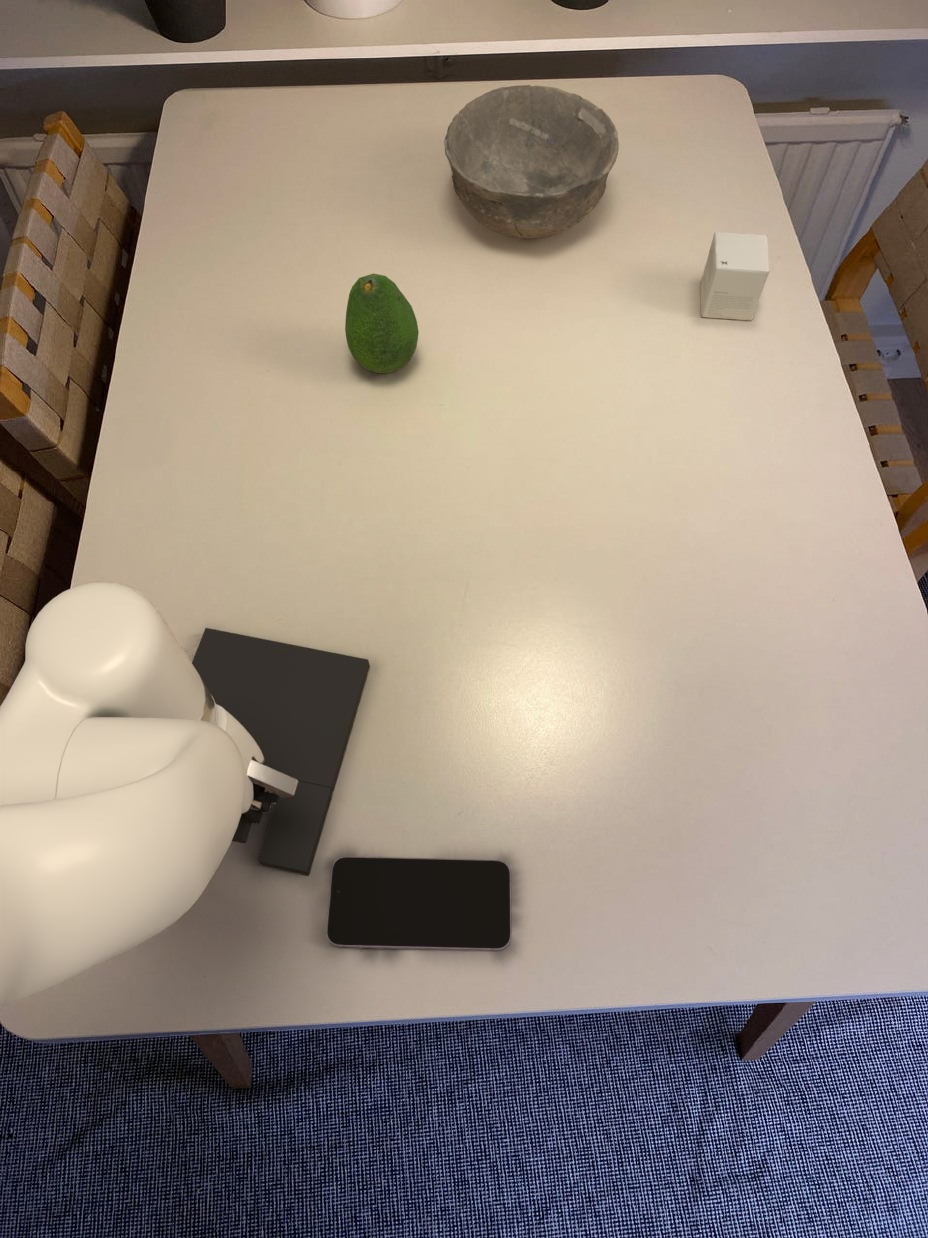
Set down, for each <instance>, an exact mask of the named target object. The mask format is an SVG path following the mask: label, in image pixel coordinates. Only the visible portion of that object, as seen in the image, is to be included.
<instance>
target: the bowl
mask: <svg viewBox="0 0 928 1238" xmlns="http://www.w3.org/2000/svg"><path fill="white" fill-rule="evenodd" d="M458 111H459V112H458V113H456V114H455V115H454V117H453V118H452V120H451V122H450V123H449V125H448V127H447V130H446V134H445V137H444V140H443V146H444V147H443V148H444V154H445V157H446V158H447V161H448V163H449V165H450V169H451V173H452V174H451V181H452V185H453V187H452V188H453V190H454V193H455V195H456V197H457V198H458V200H459V201H460V203H461V204H462V205H463V207H464V208H465V209H466V210H467V211H468V212H469V213H470V214H471V215H472V216H473V218H475V220H477V221H478V222H479V223H481V224H482V225H484V226H485V227H487V228H489V229H490V230H492V231H495V232H497V233H500V234H502V235H505V236H508V237H512V238H518V239H542V238H548V237H552V236H555V235H557V234H560V233H561V232H564V231H566V229H570V228H571V227H573V226H574V225H576V224H578V223H580V222H581V221H582V220H584V219H585V218H586V217H587V216H588V215H589V214H590V213H591V212H593V210H594V209H595V208H596V207H597V206H598V204H599V202H600V201H601V200H602V198H603V196H604V195H605V191H606V189H607V188H606V187H607V180H608V176H609V175H610V172H611V170H612V169H613V167H614V166H615V163H616V162H617V158H618V154H619V150H620V149H619V148H620V147H619V145H620V143H619V133H618V130H617V128H616V126H615V123H614V122H613V121H612V119H611V118H610V116H609V115H608V114H607V113H606V112H605V111H604V109H602V108H600V107H598V106H597V105H595V104H594V103H592V102H591V101H590V100H589V99H586V98H583V97H582V96H581V95H579V94H577V93H572V92H570V91H569V92H568V91H565V90H563V89H561V88H559V87H553V86H545V85H531V84H524V85H523V84H522V85H511V86H501V87H498V88H495V89H491V90H489V91H487V92H485V93H483V94H482V95H479V96H477V97H475V98H474V99H472V100H471V101H468V103H466V104H465V105H464V106H463V108H461V109H460V110H458Z"/></svg>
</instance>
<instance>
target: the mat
mask: <svg viewBox="0 0 928 1238" xmlns="http://www.w3.org/2000/svg"><path fill="white" fill-rule="evenodd" d="M191 663H192V664H193V666H194V667H195V669H196V671H197V672H198V674H199V675H200V677H201V679H202V680H203V682H204V683H205V685H206V687H207V688H208V690H209V691H210V693H211V695H212V696H213V698H214V701H215V703H216V704H217V705H219V706H221V707H223V708H224V709H225V710H226V711H227V712H228V713H230V714H231V715H232V716H233V717H234V718H235V719H236V720H237V721H238V722H239V723H240V724H241V725H242V726H243V727H244V728H245V729H246V730H247V731H248V733H249V734H250V735H251V736H252V737H253V739H254V740H255V742H256V743H257V745H258V746H259V748H260V750H261V752H262V754H263V757H264V763H262V764H265V765H267V766H268V767H270V768H272V769H274V770H276V771H279V772H281V773H283V774H285V775H288V776H290V777H292V778H294V779H296V780H298V784H297V787H296V791H295V794H294V797H289V798H280V797H279V798H278V801H277V802H274V806H273V809H272V813H271V816H270V819H269V823H268V826H267V829H266V832H265V835H264V838H263V841H262V844H261V848H260V850H259V852H258V853H259V854H258V857H257V860H256V861H257V863H259V865H260V866H263V867H267V868H271V869H272V868H273V869H275V870H280V871H285V872H290V873H295V874H300V875H304V876H310V873H311V870H312V867H313V863H314V860H315V857H316V853H317V850H318V846H319V842H320V839H321V836H322V832H323V829H324V825H325V822H326V819H327V818H326V817H327V815H328V811H329V808H330V804H331V801H332V798H333V794H334V791H335V787H336V784H337V780H338V777H339V773H340V770H341V767H342V764H343V760H344V756H345V754H346V749H347V747H348V743H349V739H350V736H351V734H352V733H351V732H352V729H353V725H354V723H355V719H356V715H357V712H358V709H359V705H360V701H361V698H362V695H363V692H364V688H365V684H366V681H367V677H368V673H369V670H370V668H371V667H370V661H369V659H368V658H364V657H363V658H362V657H359V656H352V655H347V654H341V653H337V652H332V651H326V650H321V649H316V648H311V647H307V646H301V645H296V644H292V643H287V642H281V641H275V640H271V639H265V638H260V637H255V636H251V635H245V634H239V633H235V632H230V631H225V630H219V629H215V628H210V627H205V628H204V631H203V633H202V635H201V639H200V641H199V644H198V646H197V648H196V651H195V654H194V656H193V659H192V661H191Z"/></svg>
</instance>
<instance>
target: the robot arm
mask: <svg viewBox="0 0 928 1238" xmlns="http://www.w3.org/2000/svg"><path fill="white" fill-rule="evenodd" d="M25 641H26V642H25V657H24V658H25V660H24V663H23V665H22V667H21V669H20V671H19V672H18V674H17V676H16V678H15V680H14V682H13V683H12V686H11V687H10V689H9V691H8V693H7V694H6V697H5V698H4V700H3V701H2V703H1V705H0V1009H3V1008H5V1007H8V1006H10V1005H13V1004H15V1003H17V1002H19V1001H23V1000H25V999H28V998H30V997H33V996H36V995H38V994H40V993H43V992H45V991H47V990H50V989H52V988H54V987H57V986H59V985H62V984H63V983H65V982H67V981H69V980H71V979H74V978H75V977H78V976H80V975H82V974H83V973H86V972H87V971H89V970H92V969H94V968H96V967H97V966H99V965H101V964H103V963H106V962H107V961H109V960H111V959H113V958H116V957H118V956H119V955H121V954H123V953H125V952H127V951H130V950H131V949H133V948H135V947H138V945H140V944H142V943H144V942H146V941H148V940H149V939H151V938H153V937H155V936H157V935H159V934H160V933H161V932H163V931H164V930H166V929H167V928H169V927H170V926H171V925H173V924H175V922H177V921H178V920H179V919H180V918H182V917H183V916H184V915H185V914H186V913H187V912H188V911H189V910H190V909H191V908H192V907H193V906H194V905H195V904H196V903H197V901H198V900H199V899H200V897H201V896H202V895H203V892H205V890H206V888H207V886H208V884H209V883H210V881H211V879H212V878H213V876H214V875H215V873H216V871H218V868H219V867H220V865H221V863H222V861H223V859H224V858H225V856H226V853H227V851H228V850H229V848H230V846H231V844H232V842H233V841H232V839H233V836H234V834H235V832H236V829H237V827H238V824H239V821H240V817H241V814H243V813H244V814H245V815H246V816H247V818H248V819H249V820H250V821H251V822H252V823H253V825H254V824H255V825H260V823H261V821H262V817H263V814H264V813H265V814H268V813H270V811H271V808H272V805H273V803H276V802H277V801H278V798H279V797H280V798H289V797H294V794H295V791H296V787H297V784H298V780H296V779H294V778H292V777H290V776H288V775H285V774H283V773H281V772H279V771H276V770H274V769H272V768H270V767H268V766H265V765H263V764H262V763H264V757H263V754H262V752H261V750H260V748H259V746H258V745H257V743H256V742H255V740H254V739H253V737H252V736H251V735H250V734H249V733H248V731H247V730H246V729H245V728H244V727H243V726H242V725H241V724H240V723H239V722H238V721H237V720H236V719H235V718H234V717H233V716H232V715H231V714H230V713H228V712H227V711H226V710H225V709H224V708H223V707H221V706H219V705H217V704H216V703H215V701H214V698H213V696H212V695H211V693H210V691H209V690H208V688H207V687H206V685H205V683H204V682H203V680H202V679H201V677H200V675H199V674H198V672H197V671H196V669H195V667H194V666H193V664H192V661H191V659H190V658H189V656H188V654H187V653H186V651H185V650H184V648H183V646H182V645H181V643H180V642H179V640H178V639H177V637H176V635H175V634H174V632H173V630H172V629H171V627H170V626H169V624H168V622H167V621H166V619H165V617H164V616H163V615H162V613H161V612H160V610H159V609H158V607H156V605H155V604H154V603H153V602H152V601H151V599H149V598H148V597H147V596H146V595H145V594H143V593H142V592H140V591H139V590H137V589H135V588H134V587H131V586H128V585H127V584H122V583H119V582H113V581H94V582H93V581H91V582H85V583H82V584H79V585H75V586H73V587H71V588H69V589H67V590H64V591H62V592H61V593H59V594H58V595H57V596H54V597H53V598H52V599H51V600H50V601H48V602H47V603H46V604H45V605H44V606H43V607H42V609H40V611H39V612H38V613H37V615H36V617H35V618H34V620H33V621H32V623H31V625H30V627H29V629H28V632H27V635H26V640H25Z"/></svg>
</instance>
